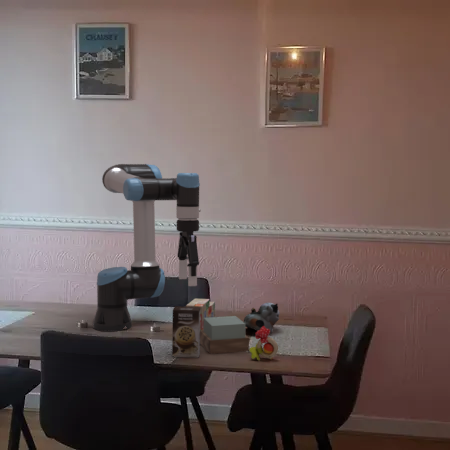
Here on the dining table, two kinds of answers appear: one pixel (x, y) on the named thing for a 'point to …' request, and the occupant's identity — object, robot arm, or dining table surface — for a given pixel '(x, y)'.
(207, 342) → the walnut slab
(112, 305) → the robot arm
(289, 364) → the dining table surface
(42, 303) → the dining table surface
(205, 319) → the grey-green block
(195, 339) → the coffee box
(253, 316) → the lucky cat figurine
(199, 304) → the stack of blocks
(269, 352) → the bird rattle
